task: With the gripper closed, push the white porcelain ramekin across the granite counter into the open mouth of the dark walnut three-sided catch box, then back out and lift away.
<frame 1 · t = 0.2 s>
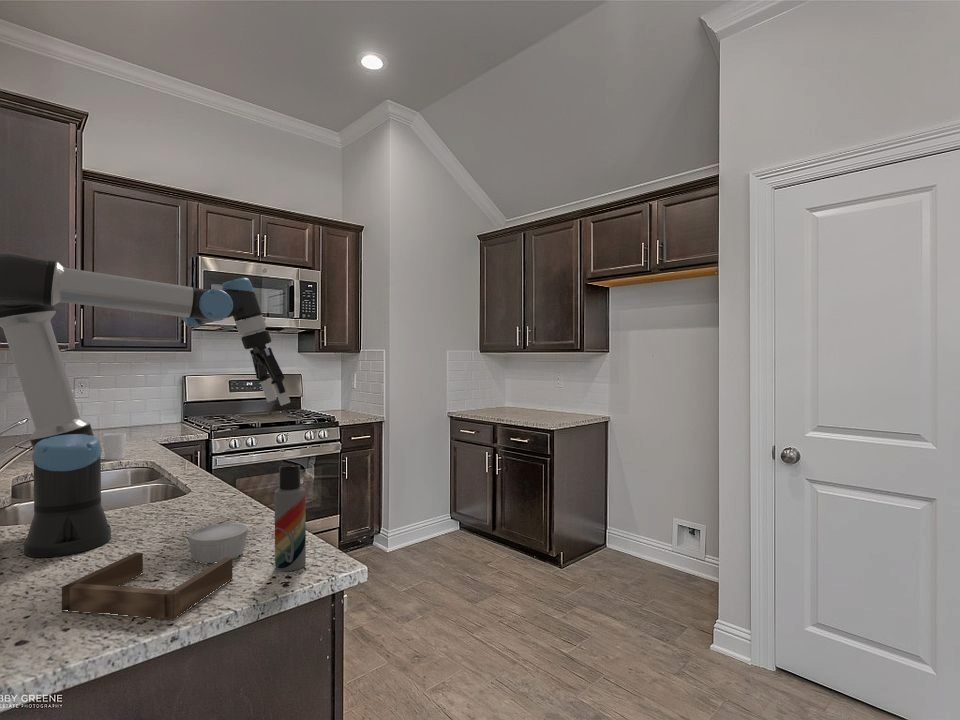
hand: (278, 402, 156), 28 cm above the counter, tool tilted 20°, fingers open, 13 cm apart
ramekin: (218, 557, 110), on the counter
lotion bottle: (290, 567, 105), on the counter
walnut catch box: (152, 594, 92), on the counter
white cup: (114, 459, 214), on the counter
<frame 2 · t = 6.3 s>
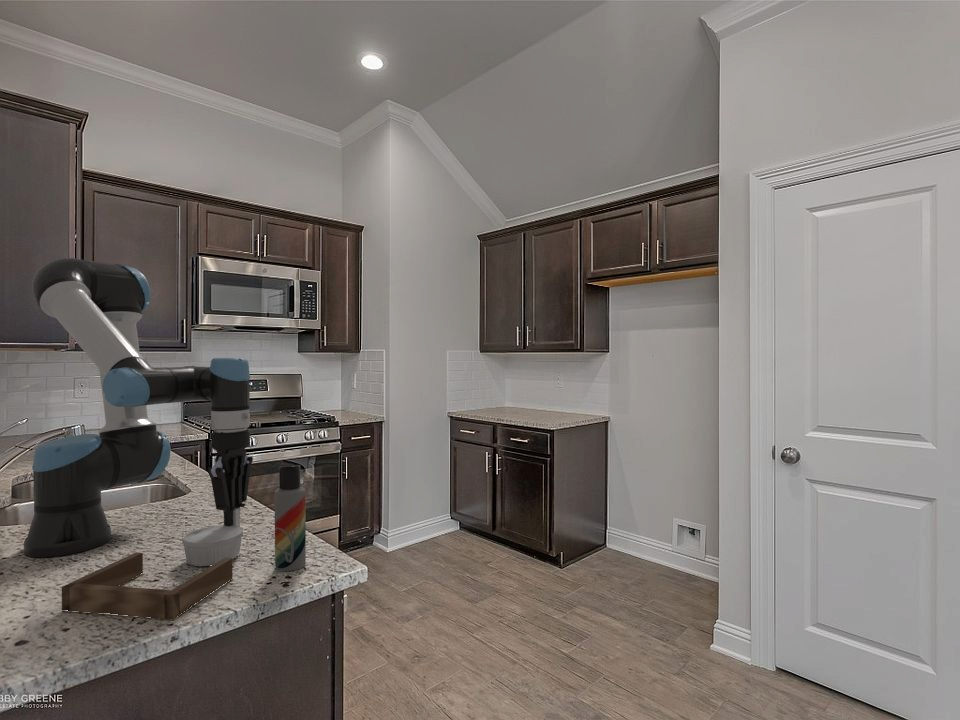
hand: (232, 538, 115), 2 cm above the counter, tool pointing down, fingers closed
ramekin: (213, 559, 108), on the counter, touching gripper
everything else where it was.
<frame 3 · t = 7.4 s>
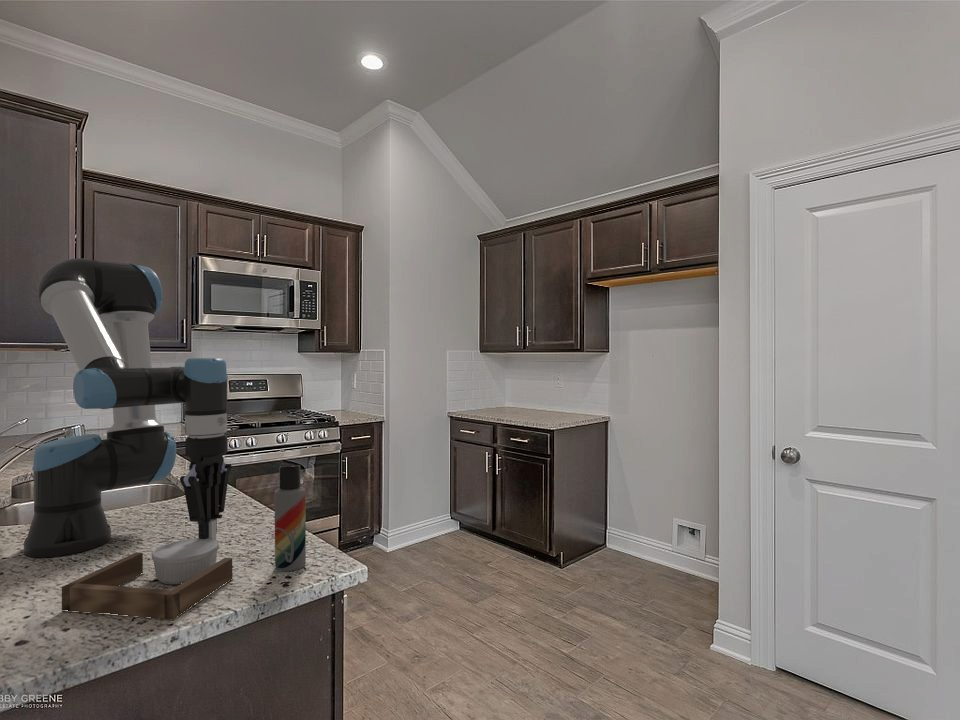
hand: (208, 552, 107), 2 cm above the counter, tool pointing down, fingers closed
ramekin: (186, 576, 101), on the counter, touching gripper
everything else where it was.
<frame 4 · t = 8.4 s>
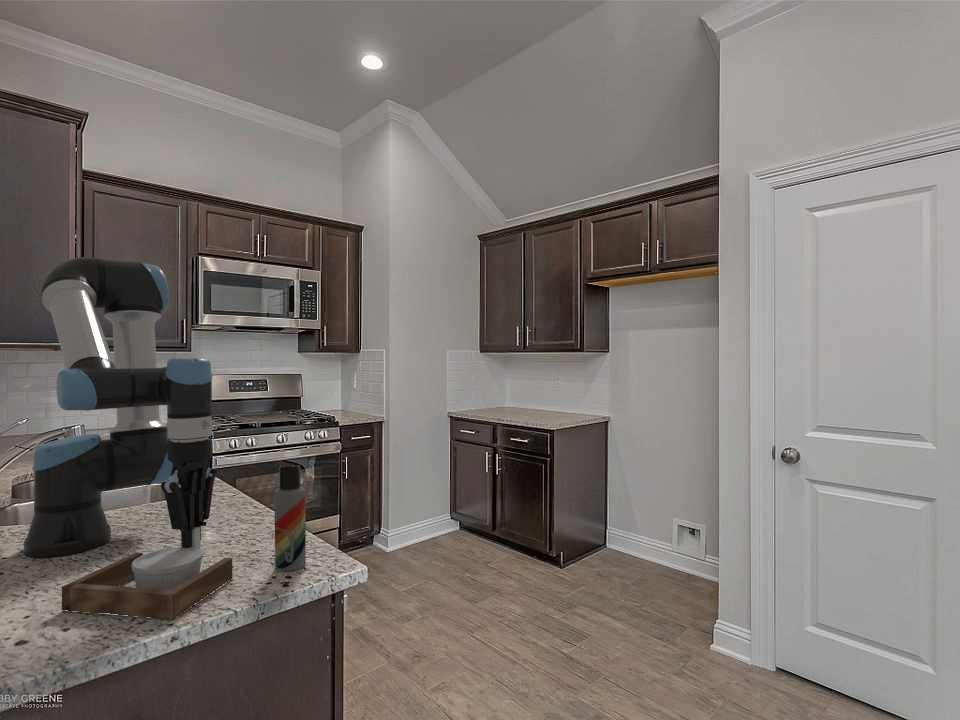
hand: (191, 561, 102), 2 cm above the counter, tool pointing down, fingers closed
ramekin: (168, 587, 96), on the counter, touching gripper
everything else where it was.
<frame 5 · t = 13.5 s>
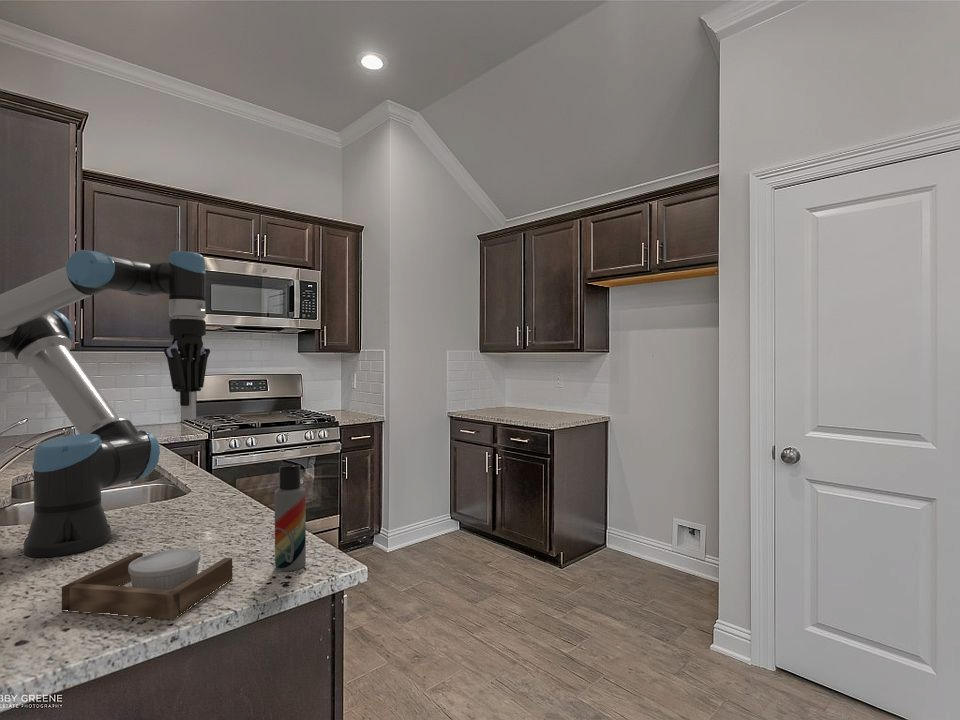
hand: (188, 419, 125), 26 cm above the counter, tool pointing down, fingers closed
ramekin: (165, 589, 95), on the counter
everything else where it was.
at the end: ramekin inside the target area on the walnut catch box (4.1 cm from its centre), point 0.0 cm above the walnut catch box's base; ramekin tilted 0° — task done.
